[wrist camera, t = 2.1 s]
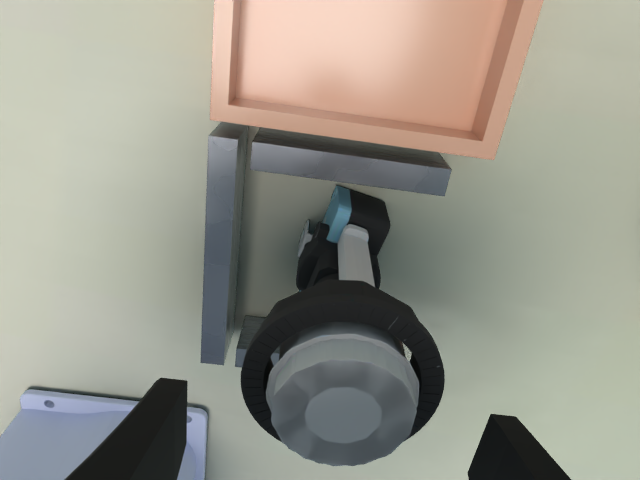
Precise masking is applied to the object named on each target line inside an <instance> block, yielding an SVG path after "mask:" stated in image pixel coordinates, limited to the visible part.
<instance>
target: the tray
mask: <svg viewBox="0 0 640 480" xmlns="http://www.w3.org/2000/svg"><path fill="white" fill-rule="evenodd" d="M542 3H543V0H214V22H213V50H212V78H211V106H210V120H214V121H221V122H228V123H235V124H242V125H249V126H257V127H264V128H271V129H278V130H285V131H292V132H299V133H306V134H313V135H320V136H327V137H334V138H341V139H348V140H356V141H363V142H370V143H377V144H384V145H391V146H398V147H405V148H412V149H419V150H426V151H433V152H440V153H448V154H455V155H462V156H469V157H476V158H483V159H490V160H494V159H495V155H496V152H497V149H498V146H499V142H500V139H501V136H502V133H503V130H504V126H505V123H506V120H507V117H508V113H509V110H510V107H511V104H512V100H513V97H514V94H515V91H516V88H517V84H518V81H519V78H520V75H521V71H522V68H523V65H524V62H525V58H526V55H527V52H528V49H529V45H530V42H531V39H532V36H533V33H534V29H535V26H536V23H537V20H538V16H539V13H540V10H541V7H542Z"/></svg>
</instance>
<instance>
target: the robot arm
mask: <svg viewBox="0 0 640 480" xmlns="http://www.w3.org/2000/svg"><path fill="white" fill-rule="evenodd" d="M20 403H21V408H22V409H21V410H20V412H19V413H18V414H17V416H16V417H15V418H14V419H13V421H12V422H11V423H10V425H9V426H8V427H7V429H6V430H5V431H4V433H3V434H2V435H1V436H0V480H205V463H206V442H207V420H208V415H207V413H206V412H205V411H204V410H203V409H200V408H193V407H187V381H185V380H176V379H167V378H160V379H159V380H157V381H156V382H155V383H154V384H153V386H152V387H151V388H150V389H149V391H148V392H147V393H146V394H145V395H144V397H143V398H142V399H141V400H140V401H131V400H122V399H113V398H104V397H95V396H86V395H77V394H68V393H60V392H51V391H42V390H33V389H30V390H26V391H25V392H24V393H23V394H22V395H21V397H20ZM187 416H190V417H187ZM468 477H469V480H571V479H570V478H569V477H568V475H567V474H566V473H565V472H564V471H563V470H562V469H561V468H560V466H559V465H558V464H557V463H556V462H555V461H554V459H553V458H552V457H551V456H550V455H549V454H548V453H547V451H546V450H545V449H544V448H543V447H542V446H541V445H540V443H539V442H538V441H537V440H536V439H535V438H534V436H533V435H532V434H531V433H530V432H529V431H528V430H527V429H526V427H525V426H524V425H523V424H522V423H521V422H520V421H519V420H518V419H517V417H514V416H505V415H496V414H491V415H490V417H489V420H488V422H487V425H486V427H485V430H484V432H483V435H482V438H481V440H480V443H479V445H478V448H477V450H476V453H475V455H474V458H473V460H472V463H471V465H470V468H469V471H468Z"/></svg>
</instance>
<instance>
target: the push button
mask: <svg viewBox="0 0 640 480" xmlns="http://www.w3.org/2000/svg"><path fill="white" fill-rule="evenodd" d="M389 229H390V220H389V217H388V213H387V210H386V206H385V203H384V202H383V201H381V200H378V199H375V198H372V197H369V196H366V195H364V194H361V193H358V192H355V191H352V190H349V189H346V188H343V187H340V186H336V187H335V190H334V192H333V195H332V197H331V202H330V204H329V207H328V209H327V212H326V214H325V217H324V219H323V222H318V224H317V226H316V229H315V231H314V234H313V235H312V234H309V233H308V230H309V220H307V222H306V224H305V227H304V230H303V232H302V235H301V238H300V241H299V248H298V256H299V257H300V258H299V261H298V269H297V278H296V284H297V287H298V289H299V293H296V294H294V295H292V296H290V297H288V298H285V299H283V300H281V301H279V302H277V303H276V304H275V306H274V307H273V309H272V310H271V311H270V313H269V314H268V316H267V317H266V319H265V320H264V321H263V323H262V324H261V326H260V329H259V330H258V331H257V332H256V334H255V335H254V337H253V338H252V340H251V342H250V344H249V346H248V348H247V351H246V354H245V357H244V361H243V366H242V371H241V389H242V394H243V398H244V400H245V403H246V405H247V407H248V409H249V411H250V413H251V414H252V416H253V417H254V419H255V420H256V421H257V422H258V424H259V425H260V426H261V427H262V428H263V429H264V430H265V431H267V432H268V433H269V434H270V435H272V436H273V437H274V438H276V439H278V440H279V441H281V442H282V443H284V444H285V445H287V447H288V448H289V449H291V450H293V451H295V452H296V453H298V454H299V455H301V456H302V457H303V458H305V459H309V460H313V461H315V462H317V463H321V464H328V465H332V466H342V465H348V466H355V465H360V464H366V463H368V462H371V461H373V460H376V459H378V458H381V457H385V456H387V455H388V454H391V453H392V452H393V451H394V450H395V449H396V448H397V447H398V446H399V445H400V444H401V443H402V442H403V441H405V440H407V439H408V438H410V437H411V436H413V435H414V434H415V433H417V432H418V431H419V430H420V429H421V428H422V427H423V426H424V425H425V424H426V423H427V422H428V421H429V420H430V418H431V417H432V415H433V414H434V413H435V411H436V409H437V407H438V405H439V403H440V400H441V398H442V394H443V390H444V380H445V379H444V369H443V363H442V360H441V357H440V354H439V351H438V348H437V346H436V344H435V342H434V340H433V338H432V336H431V335H430V333H429V332H428V331H427V329H426V328H425V327H424V326H423V325H422V324H421V323H420V322H419V321H418V319H417V317H416V315H415V313H414V312H413V310H412V308H411V307H409V306H408V305H406V304H404V303H403V302H401V301H399V300H397V299H395V298H394V297H392V296H390V295H388V294H386V293H385V292H383V291H381V290H379V286H380V270H379V264H378V259H377V255H378V253H379V251H380V249H381V247H382V245H383V243H384V240H385V238H386V236H387V234H388V232H389ZM402 342H403V343H404V344H405V345H406V346H407V347H408V348H409V350H410V351H411V352H412V356H411V360H410V362H409V361H408V360H407V359H406V357H405V353H404V348H403V344H402ZM280 345H281V347H280V354H279V361H278V362H277V364H276V365H275V366H274V365H273V363H272V360H271V355H272V354H273V353H274V351H275V350H276V349H277V348H278V347H279V346H280Z"/></svg>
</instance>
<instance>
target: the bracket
mask: <svg viewBox="0 0 640 480" xmlns="http://www.w3.org/2000/svg"><path fill="white" fill-rule="evenodd" d="M247 136H248V125H242V124H235V123H228V122H221V123H220V124H219V125H218V126H217V127H216V128H215V129H214V130H213V132H212V133H211V134H210V135H209V138H208V167H207V196H206V224H205V253H204V281H203V310H202V339H201V363H209V364H217V365H224V363H225V359H226V356H227V352H228V349H229V345H230V342H231V338H232V335H233V332H234V318H235V304H236V290H237V276H238V262H239V248H240V234H241V220H242V206H243V192H244V178H245V164H246V150H247ZM250 170H256V171H264V172H271V173H278V174H286V175H293V176H300V177H308V178H315V179H322V180H329V181H337V182H344V183H351V184H359V185H366V186H373V187H381V188H388V189H395V190H402V191H410V192H417V193H424V194H432V195H439V196H445V192H446V188H447V185H448V181H449V177H450V174H451V168H450V167H449V166H448V164H447V163H446V162H445V160H444V159H443V158H442V156H441V155H440V154H439V153H438V152H433V151H426V150H419V149H412V148H405V147H398V146H391V145H384V144H377V143H370V142H363V141H356V140H348V139H341V138H334V137H327V136H320V135H313V134H306V133H299V132H292V131H285V130H278V129H271V128H264V127H260V129H259V131H258V133H257V134H256V136H255V138H254V140H253V142H252V153H251V166H250ZM265 319H266V318H260V317H252V316H245V319H244V323H243V326H242V330H241V334H240V338H239V341H238V345H237V349H236V362H235V367H242V366H243V361H244V357H245V354H246V351H247V348H248V346H249V344H250V342H251V340H252V338H253V337H254V335H255V334H256V332H257V331H258V330H259V329H260V326H261V324H262V323H263V321H264V320H265ZM280 347H281V345H280V346H279V347H278V348H277V349H276V350H275V351H274V353H273V354H272V355H271V360H272V363H273V365H274V366H275V365H276V364H277V362H278V361H279V354H280Z"/></svg>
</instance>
